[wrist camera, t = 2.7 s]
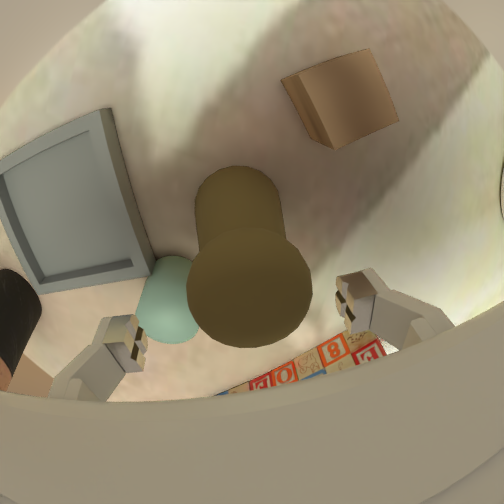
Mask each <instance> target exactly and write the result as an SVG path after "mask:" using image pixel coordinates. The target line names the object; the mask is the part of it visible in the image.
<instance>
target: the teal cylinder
mask: <svg viewBox="0 0 504 504" xmlns="http://www.w3.org/2000/svg"><path fill="white" fill-rule="evenodd" d="M191 265H192V262H191V261H190V260H188V259H186V258H183V257H180V256H166V257H163V258H160V259H159V260H157V261H156V263H155V266H154V269H153V272H152V275H151V276H148V277H147V280H146V283H145V286H144V289H143V292H142V294H141V297H140V300H139V303H138V307H137V310H136V313H135V315H136V317H137V318H138V320H139V324H138V326H139V327H141V328H142V329H144V331H145V333H146V335H147V336H148V337H150V338H151V339H153V340H156V341H158V342H162V343H167V344H178V343H183V342H186V341H188V340H190V339H191V338H193V337H194V336H195V334H196V333H197V331H198V328H199V326H198V324H197V323H196V322H195V320H194V318H193V316H192V314H191V312H190V310H189V307H188V302H187V292H186V283H187V277H188V274H189V271H190V268H191Z"/></svg>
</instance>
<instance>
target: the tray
mask: <svg viewBox="0 0 504 504" xmlns="http://www.w3.org/2000/svg"><path fill="white" fill-rule="evenodd" d="M0 219H1V222H2V224H3V226H4V229H5V231H6V234H7V236H8V238H9V240H10V243H11V245H12V247H13V249H14V251H15V253H16V255H17V257H18V259H19V261H20V263H21V265H22V267H23V269H24V271H25V273H26V275H27V277H28V279H29V280H30V282H31V284H32V286H33V287H34V289H35V291H36V293H37V294H38V295H42V294H48V293H54V292H60V291H66V290H72V289H77V288H83V287H89V286H95V285H101V284H107V283H112V282H118V281H124V280H130V279H135V278H141V277H147V276H151V275H152V272H153V269H154V266H155V263H156V259H155V257H154V254H153V251H152V248H151V246H150V243H149V240H148V237H147V234H146V231H145V229H144V226H143V223H142V220H141V217H140V214H139V210H138V207H137V204H136V201H135V198H134V195H133V191H132V188H131V185H130V181H129V178H128V174H127V171H126V167H125V163H124V160H123V156H122V152H121V148H120V144H119V140H118V136H117V132H116V128H115V124H114V119H113V115H112V110H111V108H107V109H100V110H97V111H94V112H92V113H90V114H87V115H85V116H83V117H80V118H78V119H76V120H73V121H71V122H69V123H67V124H65V125H63V126H61V127H59V128H57V129H54V130H52V131H51V132H49V133H47V134H45V135H43V136H41V137H39V138H37V139H35V140H34V141H32V142H30V143H28V144H26V145H25V146H23V147H21V148H20V149H18V150H16V151H15V152H13V153H11V154H10V155H8V156H7V157H5V158H3V159H2V160H0Z"/></svg>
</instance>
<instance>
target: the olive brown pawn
mask: <svg viewBox="0 0 504 504" xmlns="http://www.w3.org/2000/svg"><path fill="white" fill-rule="evenodd" d="M195 218H196V227H197V235H198V243H199V251H200V252H199V253H198V255H197V256H196V257H195V259H194V260H193V262H192V265H191V268H190V271H189V274H188V277H187V283H186V292H187V302H188V307H189V310H190V312H191V314H192V316H193V318H194V320H195V322H196V323H197V324H198V326H199V327H200V328H201V329H202V330H203V331H204V332H205V333H206V334H208V335H209V336H210V337H211V338H212V339H214V340H216V341H218V342H220V343H223V344H225V345H229V346H234V347H239V348H256V347H261V346H265V345H269V344H273V343H275V342H277V341H279V340H281V339H283V338H285V337H287V336H288V335H289V334H290V333H292V332H293V331H294V330H295V329H297V328H298V326H299V325H300V323H301V322H302V320H303V319H304V318H305V316H306V314H307V312H308V310H309V306H310V303H311V299H312V295H313V293H312V281H311V274H310V270H309V268H308V266H307V264H306V262H305V260H304V258H303V257H302V255H301V254H300V252H299V250H298V249H297V248H296V247H295V246H294V245H292V244H291V243H290V242H288V241H287V240H286V235H285V229H284V223H283V216H282V210H281V204H280V199H279V195H278V191H277V189H276V187H275V186H274V184H273V182H272V181H271V180H270V179H269V178H268V177H267V176H266V175H264V174H263V173H262V172H261V171H258V170H255V169H253V168H250V167H247V166H231V167H227V168H223V169H220V170H218V171H217V172H215V173H213V174H212V175H210V176H209V177H207V179H206V180H205V181H204V183H203V184H202V185H201V186H200V188H199V190H198V193H197V196H196V198H195Z"/></svg>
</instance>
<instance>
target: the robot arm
mask: <svg viewBox="0 0 504 504" xmlns="http://www.w3.org/2000/svg"><path fill="white" fill-rule="evenodd" d="M501 207H502V214H503V217H504V170H503V176H502V185H501ZM336 286H337V288H338V291H337V292H336V294H335V301H336V307H337V310H338V312H339V314H340V316H342V317H344V318H345V320H344V324H345V326H346V328H347V329H348V331H349V333H350V335H351V334H355V333H359V332H362V331H366V330H370V331H371V332H373V333H374V334H376V335H377V336H379V337H380V338H382V339H383V340H385V341H386V342H388V343H389V344H391V345H393V346H394V347H396V348H397V349H399V351H397V352H394V353H391V354H389V355H386V356H383V357H380V358H377V359H374V360H371V361H368V362H365V363H362V364H359V365H356V366H353V367H349V368H346V369H343V370H339V371H336V372H332V373H328V374H325V375H321V376H317V377H313V378H309V379H305V380H301V381H297V382H292V383H288V384H283V385H278V386H273V387H268V388H263V389H257V390H252V391H246V392H239V393H233V394H226V395H218V396H210V397H201V398H191V399H180V400H165V401H144V402H106V401H107V399H108V398H109V397H110V395H111V394H112V392H113V391H114V390H115V388H116V387H117V385H118V384H119V383H120V381H121V380H122V379H123V377H124V376H125V374H126V373H132V372H142V371H143V370H144V365H145V357H144V356H143V355H144V353H145V352H146V351H147V348H148V341H147V336H146V333H145V331H144V329H142V328H141V327H139V326H138V324H139V320H138V318H137V317H136V315H134V314H131V315H122V316H113V317H106V318H103V319H101V321H100V324H99V326H98V329H97V331H96V334H95V337H94V339H93V342H92V345H88V346H87V347H86V348H85V349H84V350H83V351H82V352H81V353H80V354H79V355H77V356H76V357H75V358H74V359H73V360H72V361H71V362H70V363H69V364H68V365H67V366H66V367H65V368H64V369H63V370H62V371H61V372H60V373H59V374H58V375H56V376H55V378H54V381H53V383H52V386H51V389H50V392H49V395H48V398H45V397H37V396H29V395H23V394H16V393H11V392H6V391H2V390H0V504H504V301H502V302H501V303H499V304H497V305H496V306H494V307H492V308H490V309H489V310H487V311H485V312H483V313H481V314H479V315H477V316H476V317H474V318H472V319H470V320H468V321H466V322H464V323H462V324H460V325H458V326H456V327H455V326H454V325H453V323H452V322H451V321H450V320H449V318H448V317H447V316H446V315H445V314H444V312H443V311H442V310H441V309H440V308H437V307H435V306H433V305H430V304H428V303H425V302H423V301H420V300H418V299H415V298H413V297H411V296H408V295H406V294H403V293H401V292H398V291H396V290H390V289H389V288H388V287H387V285H386V284H385V283H384V282H383V281H382V279H381V278H380V277H379V276H378V274H377V273H376V272H375V271H374V270H373V269H372V268H368V269H364V270H361V271H358V272H354V273H350V274H346V275H341V276H337V278H336Z"/></svg>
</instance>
